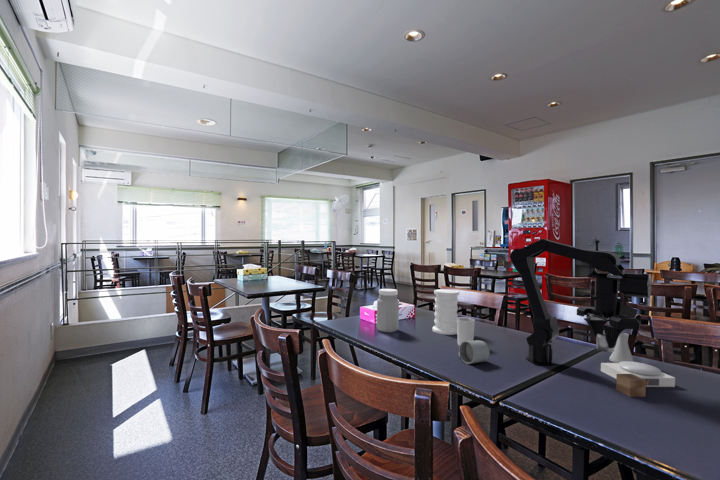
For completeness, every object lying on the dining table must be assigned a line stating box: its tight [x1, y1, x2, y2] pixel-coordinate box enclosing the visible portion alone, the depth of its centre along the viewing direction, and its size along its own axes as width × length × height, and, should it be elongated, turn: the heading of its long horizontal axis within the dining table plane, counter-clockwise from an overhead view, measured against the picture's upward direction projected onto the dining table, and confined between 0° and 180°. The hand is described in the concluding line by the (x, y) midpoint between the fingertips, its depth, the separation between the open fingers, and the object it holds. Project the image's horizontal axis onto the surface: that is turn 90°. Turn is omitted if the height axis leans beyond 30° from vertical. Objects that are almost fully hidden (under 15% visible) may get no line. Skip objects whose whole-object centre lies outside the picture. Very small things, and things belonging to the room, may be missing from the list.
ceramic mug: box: [458, 339, 491, 365], centre depth 121 cm, size 10×8×7 cm
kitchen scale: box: [600, 361, 676, 388], centre depth 107 cm, size 13×12×4 cm
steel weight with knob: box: [595, 332, 615, 353], centre depth 107 cm, size 4×4×5 cm
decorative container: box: [431, 288, 460, 336], centre depth 158 cm, size 12×12×18 cm
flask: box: [608, 332, 635, 363], centre depth 122 cm, size 7×7×10 cm
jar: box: [376, 288, 400, 333], centre depth 158 cm, size 10×10×18 cm
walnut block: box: [615, 374, 647, 398], centre depth 97 cm, size 4×4×4 cm
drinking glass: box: [456, 316, 476, 347], centre depth 138 cm, size 7×7×10 cm
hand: (605, 345), depth 107 cm, fingers closed on steel weight with knob, 4 cm apart
